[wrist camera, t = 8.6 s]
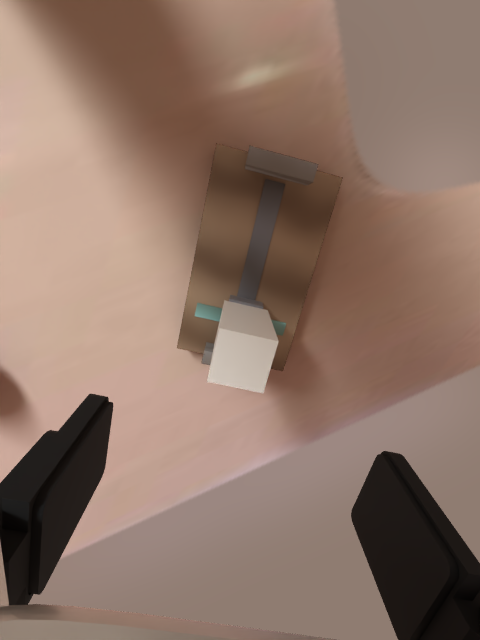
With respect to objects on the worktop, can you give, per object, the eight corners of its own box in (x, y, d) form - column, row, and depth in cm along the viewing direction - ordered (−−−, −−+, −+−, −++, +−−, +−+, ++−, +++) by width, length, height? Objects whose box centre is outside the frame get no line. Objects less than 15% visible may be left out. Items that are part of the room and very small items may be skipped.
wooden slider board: (218, 149, 25) (214, 136, 21) (334, 181, 26) (351, 173, 22) (180, 340, 30) (172, 357, 26) (280, 361, 31) (286, 381, 27)
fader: (225, 293, 26) (220, 324, 18) (266, 303, 27) (279, 338, 18) (215, 336, 27) (206, 384, 19) (255, 345, 28) (262, 396, 19)
